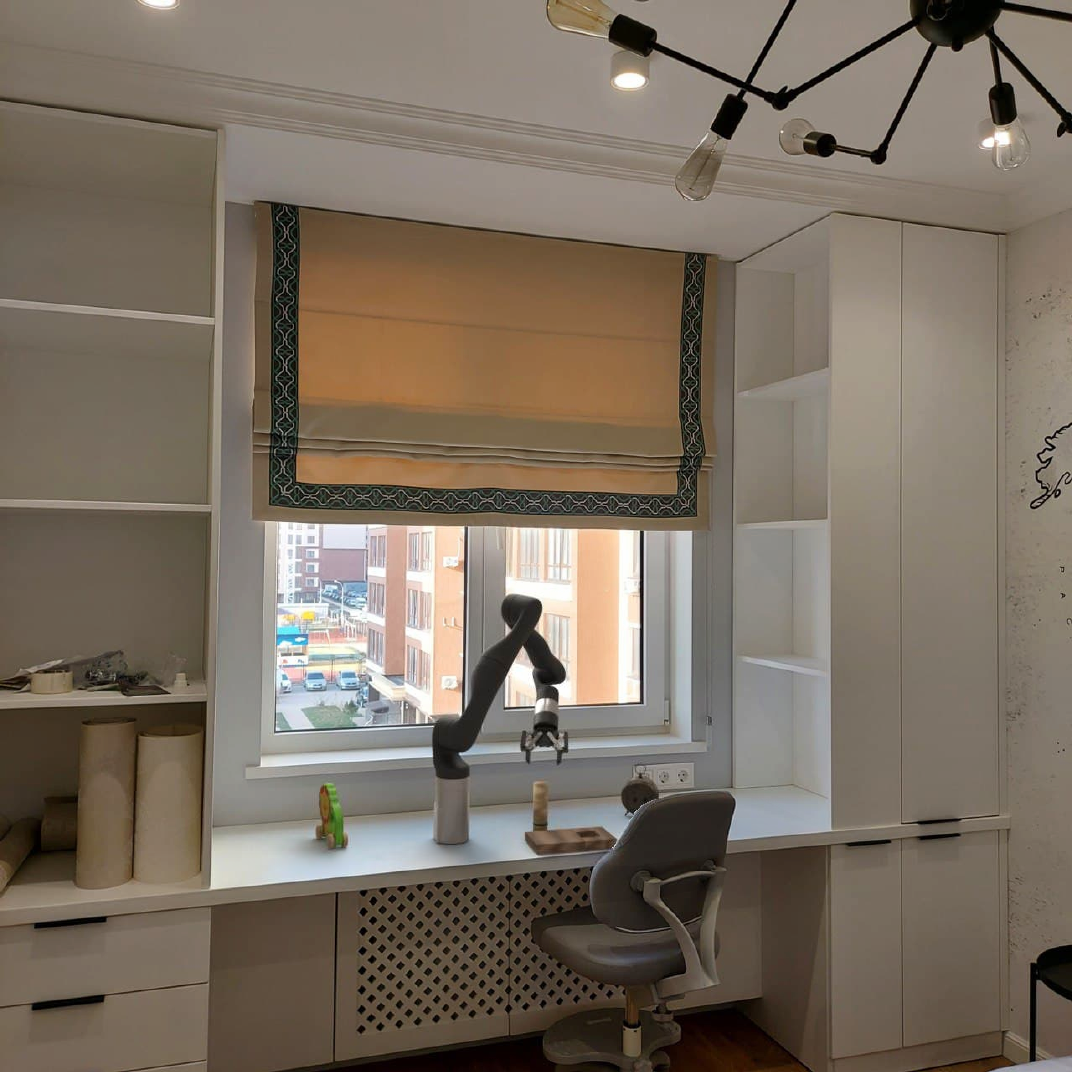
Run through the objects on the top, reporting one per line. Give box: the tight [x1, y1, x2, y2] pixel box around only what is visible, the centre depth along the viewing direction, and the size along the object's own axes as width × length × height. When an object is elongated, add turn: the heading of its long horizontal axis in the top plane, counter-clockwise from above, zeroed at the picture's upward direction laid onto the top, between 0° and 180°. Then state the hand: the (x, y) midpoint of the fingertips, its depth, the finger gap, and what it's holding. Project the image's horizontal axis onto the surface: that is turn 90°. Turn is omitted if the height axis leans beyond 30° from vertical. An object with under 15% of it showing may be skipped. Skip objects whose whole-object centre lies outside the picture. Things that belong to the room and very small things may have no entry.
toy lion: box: [315, 782, 349, 850], centre depth 253 cm, size 16×6×15 cm, turn 29°
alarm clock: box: [620, 762, 660, 817], centre depth 279 cm, size 11×5×16 cm, turn 76°
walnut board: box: [524, 826, 618, 856], centre depth 252 cm, size 22×12×2 cm, turn 106°
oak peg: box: [532, 780, 549, 831], centre depth 262 cm, size 4×4×14 cm
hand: (543, 763), depth 274 cm, fingers open, 8 cm apart
